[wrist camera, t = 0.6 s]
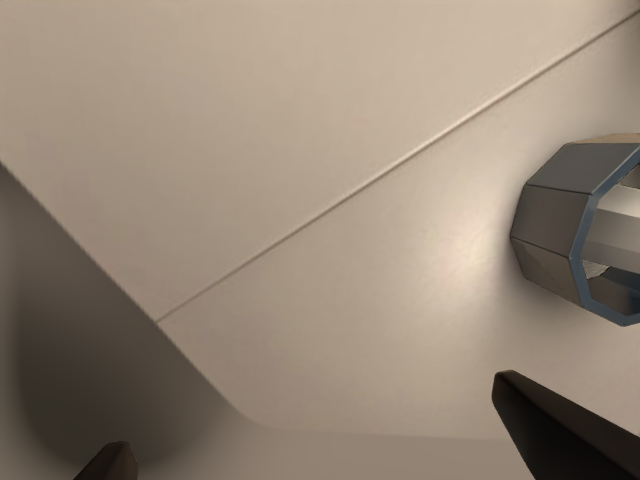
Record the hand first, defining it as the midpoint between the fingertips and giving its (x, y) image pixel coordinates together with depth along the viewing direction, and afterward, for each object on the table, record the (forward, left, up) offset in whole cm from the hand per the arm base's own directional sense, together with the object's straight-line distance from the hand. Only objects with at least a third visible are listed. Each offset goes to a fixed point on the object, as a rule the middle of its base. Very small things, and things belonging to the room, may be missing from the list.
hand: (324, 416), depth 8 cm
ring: (-2, -19, -12) cm, 23 cm away
